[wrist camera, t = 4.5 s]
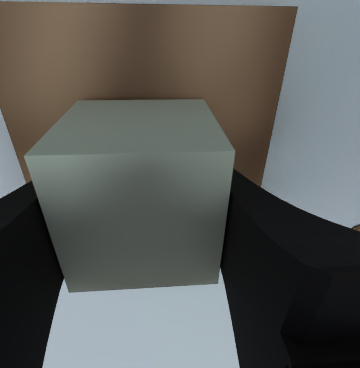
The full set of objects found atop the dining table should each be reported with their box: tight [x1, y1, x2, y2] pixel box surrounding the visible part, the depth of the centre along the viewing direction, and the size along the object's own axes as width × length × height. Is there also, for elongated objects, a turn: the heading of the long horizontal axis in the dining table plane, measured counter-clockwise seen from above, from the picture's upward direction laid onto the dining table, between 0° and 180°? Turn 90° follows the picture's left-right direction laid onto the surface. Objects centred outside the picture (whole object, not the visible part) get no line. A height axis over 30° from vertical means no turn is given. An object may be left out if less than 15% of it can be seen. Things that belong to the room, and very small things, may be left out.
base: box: [0, 1, 298, 187], centre depth 14 cm, size 12×12×2 cm
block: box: [24, 99, 235, 293], centre depth 10 cm, size 5×5×5 cm
